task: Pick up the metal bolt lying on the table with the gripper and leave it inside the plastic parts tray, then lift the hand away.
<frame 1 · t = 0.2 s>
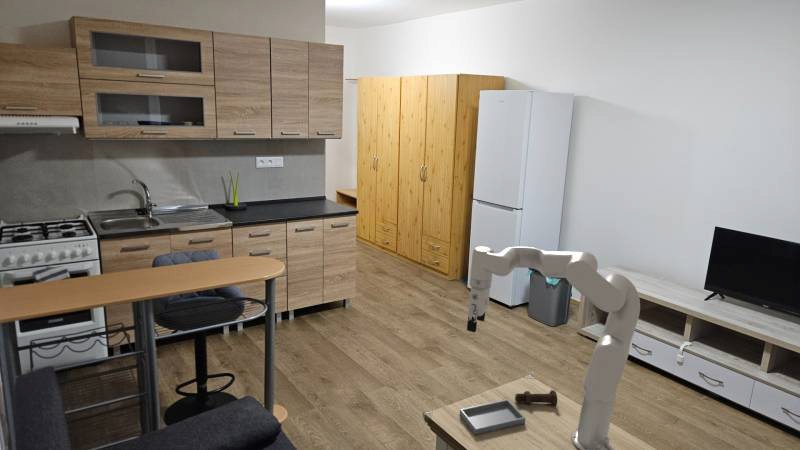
hand: (475, 325, 189), 31 cm above the table, tool pointing down, fingers open, 9 cm apart
parts tray: (491, 419, 187), on the table
bolt: (534, 403, 198), on the table
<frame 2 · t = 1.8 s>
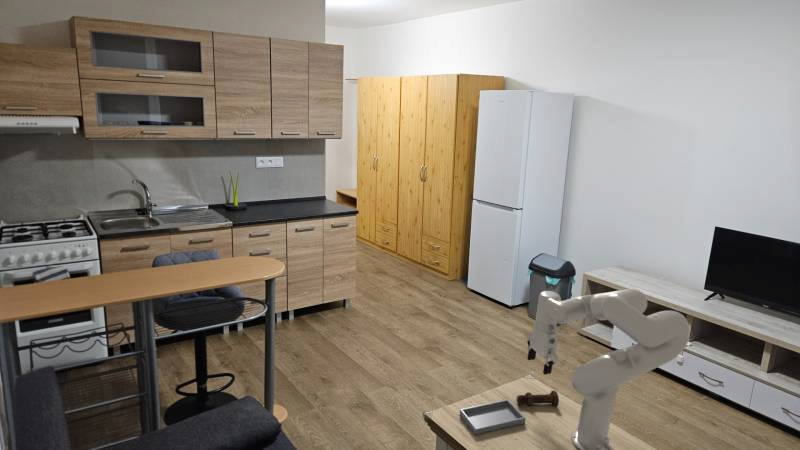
hand: (538, 366, 194), 15 cm above the table, tool pointing down, fingers open, 9 cm apart
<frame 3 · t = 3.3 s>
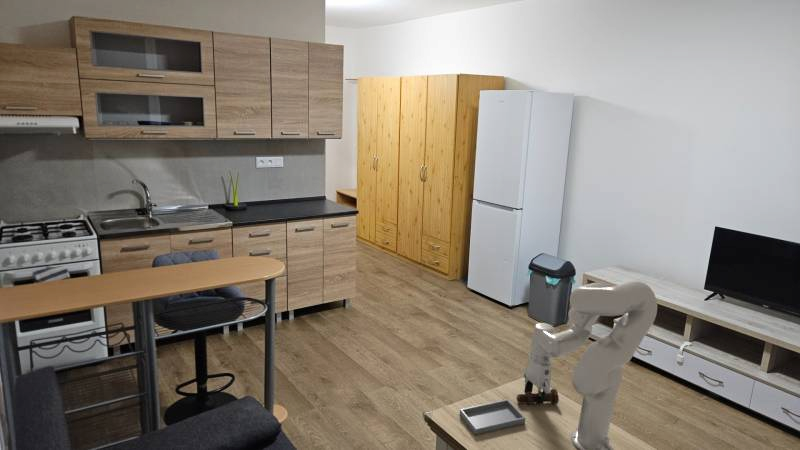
hand: (533, 397, 198), 2 cm above the table, tool pointing down, fingers open, 6 cm apart
bolt: (535, 402, 199), on the table, touching gripper
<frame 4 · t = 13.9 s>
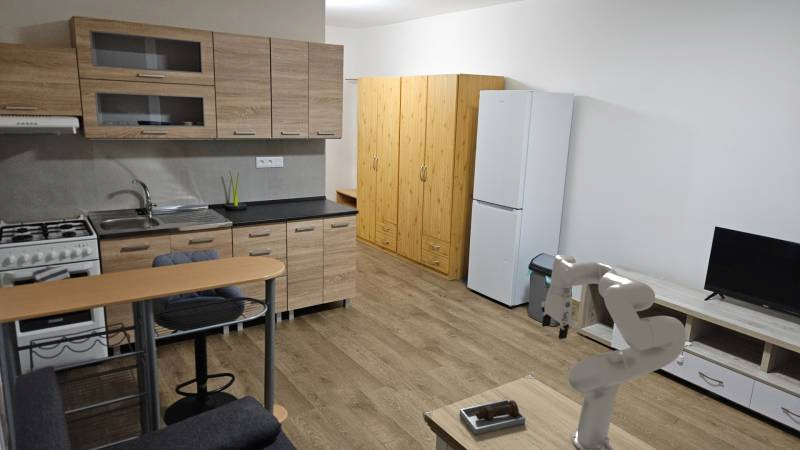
hand: (553, 332, 193), 28 cm above the table, tool pointing down, fingers open, 9 cm apart
bolt: (495, 417, 187), resting on parts tray
at the end: bolt inside the target area on the parts tray (1.5 cm from its centre), point 0.4 cm above the parts tray's base; the gripper is holding nothing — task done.
